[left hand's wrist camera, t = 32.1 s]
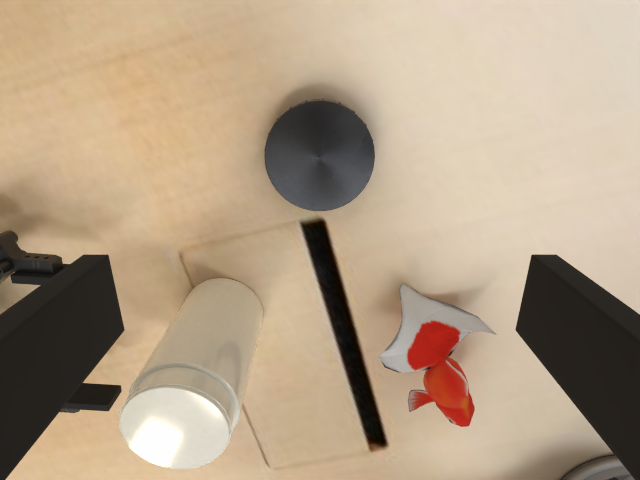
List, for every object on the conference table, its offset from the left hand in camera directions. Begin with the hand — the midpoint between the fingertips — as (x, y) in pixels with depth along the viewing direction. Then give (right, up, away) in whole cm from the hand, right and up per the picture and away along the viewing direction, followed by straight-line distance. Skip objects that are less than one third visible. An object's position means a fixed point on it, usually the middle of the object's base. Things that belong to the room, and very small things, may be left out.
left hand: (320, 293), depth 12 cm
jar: (-10, -6, +30) cm, 33 cm away
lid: (0, +9, +22) cm, 24 cm away
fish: (+11, -9, +31) cm, 34 cm away
